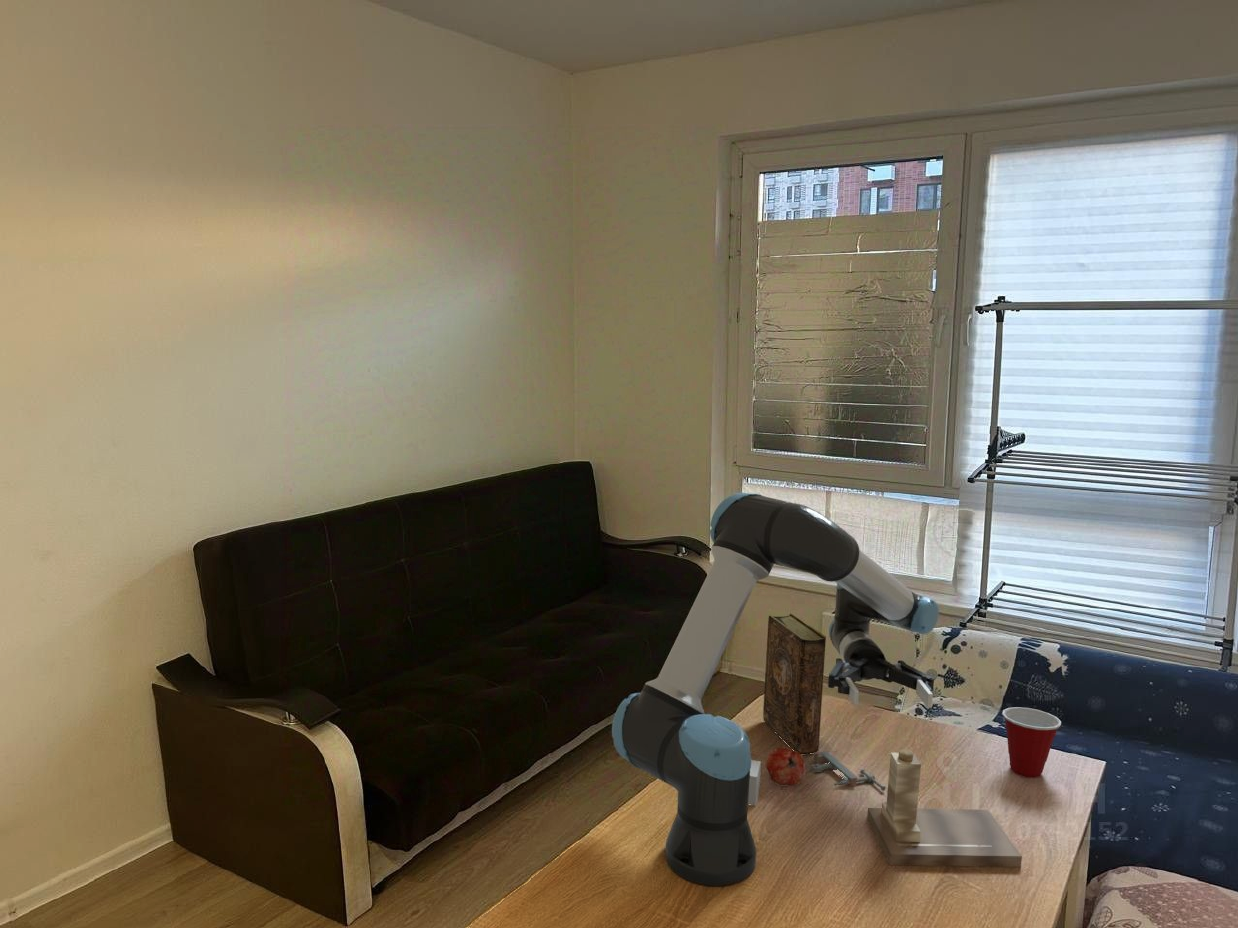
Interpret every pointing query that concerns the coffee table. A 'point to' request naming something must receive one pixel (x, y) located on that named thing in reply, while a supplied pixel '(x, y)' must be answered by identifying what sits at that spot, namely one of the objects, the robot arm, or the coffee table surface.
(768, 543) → the robot arm
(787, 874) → the coffee table surface
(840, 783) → the clamp
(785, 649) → the book
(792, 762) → the pomegranate
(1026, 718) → the plastic cup
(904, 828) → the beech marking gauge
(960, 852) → the grey flat plate
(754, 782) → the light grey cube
